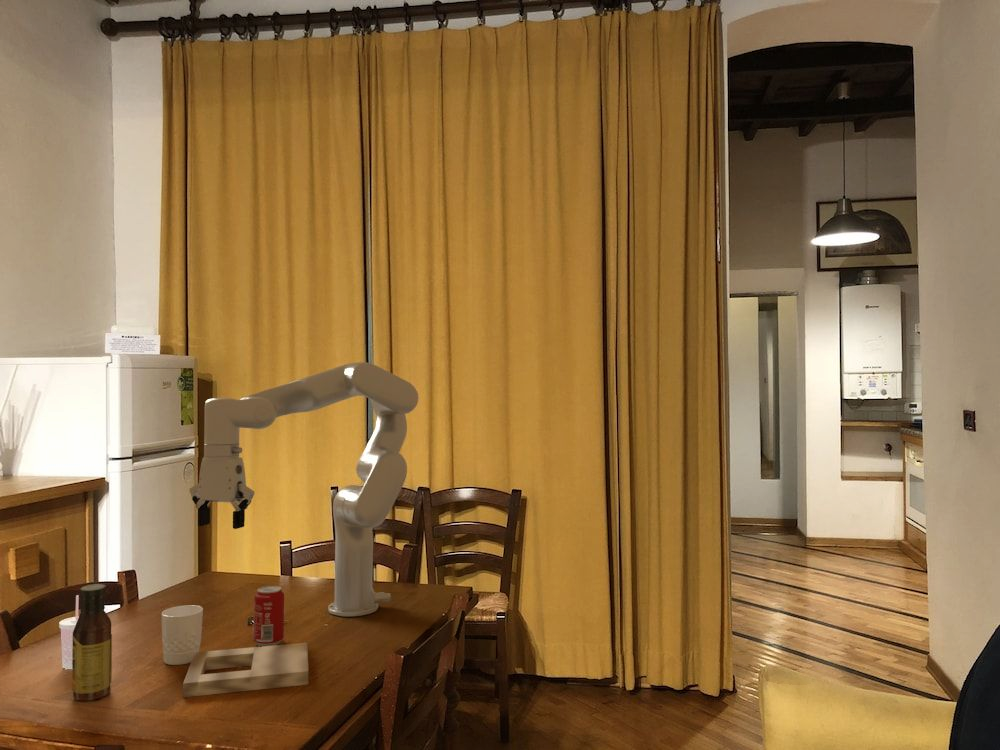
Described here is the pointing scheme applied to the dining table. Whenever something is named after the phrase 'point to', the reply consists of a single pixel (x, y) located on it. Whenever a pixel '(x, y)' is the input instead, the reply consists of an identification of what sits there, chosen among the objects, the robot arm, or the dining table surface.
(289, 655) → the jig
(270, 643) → the beverage can
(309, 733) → the dining table surface
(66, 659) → the beverage cup
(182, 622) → the white cup
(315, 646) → the dining table surface
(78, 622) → the sauce bottle
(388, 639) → the dining table surface
